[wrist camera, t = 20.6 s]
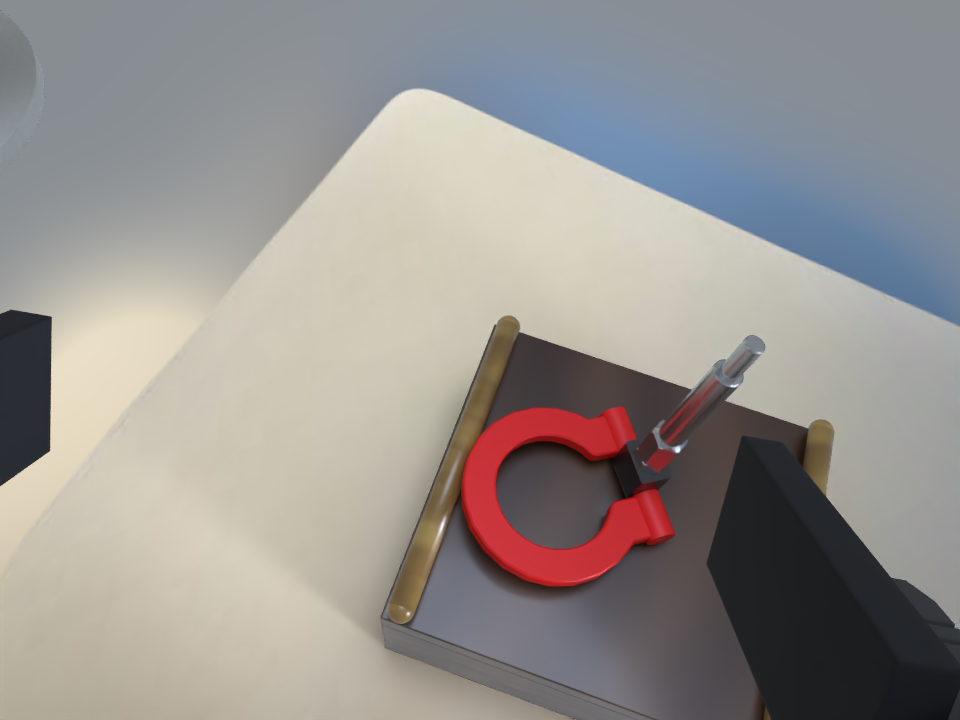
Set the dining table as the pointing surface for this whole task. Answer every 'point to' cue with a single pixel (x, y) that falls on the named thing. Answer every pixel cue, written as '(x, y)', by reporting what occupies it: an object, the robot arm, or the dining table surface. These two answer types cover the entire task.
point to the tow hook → (595, 440)
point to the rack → (572, 522)
